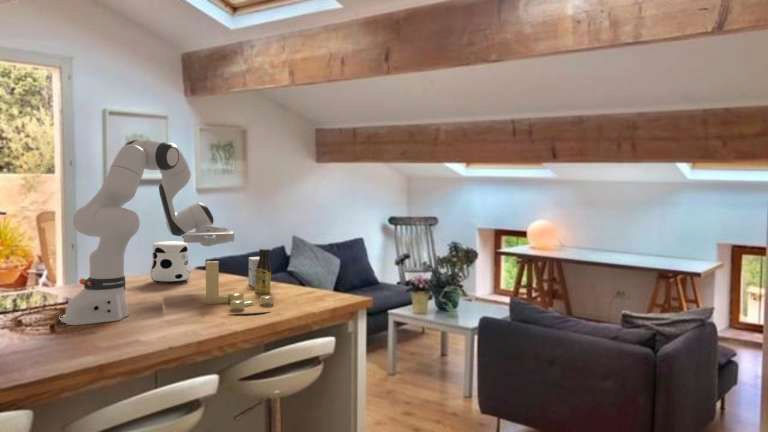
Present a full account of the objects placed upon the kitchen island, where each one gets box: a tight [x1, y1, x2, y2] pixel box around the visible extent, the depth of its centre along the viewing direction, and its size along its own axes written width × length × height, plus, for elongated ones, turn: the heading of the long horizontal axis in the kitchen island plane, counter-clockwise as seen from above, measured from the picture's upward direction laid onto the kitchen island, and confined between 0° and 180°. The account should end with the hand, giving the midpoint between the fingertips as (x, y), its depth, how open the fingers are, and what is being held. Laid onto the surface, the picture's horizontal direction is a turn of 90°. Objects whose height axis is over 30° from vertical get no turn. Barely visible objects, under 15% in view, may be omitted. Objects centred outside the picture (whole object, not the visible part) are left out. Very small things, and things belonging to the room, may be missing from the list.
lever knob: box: [205, 260, 245, 305], centre depth 243 cm, size 14×6×16 cm, turn 111°
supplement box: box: [248, 256, 260, 288], centre depth 288 cm, size 7×7×13 cm
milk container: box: [150, 240, 191, 284], centre depth 292 cm, size 17×17×18 cm
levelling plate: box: [228, 295, 274, 317], centre depth 240 cm, size 22×22×4 cm
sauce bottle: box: [254, 247, 272, 295], centre depth 265 cm, size 6×6×20 cm
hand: (210, 239), depth 254 cm, fingers closed
